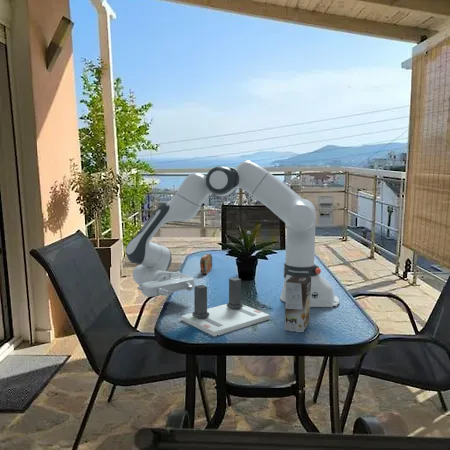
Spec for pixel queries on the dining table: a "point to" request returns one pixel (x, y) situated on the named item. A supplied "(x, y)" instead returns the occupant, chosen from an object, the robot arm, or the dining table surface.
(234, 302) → the post
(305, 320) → the coffee box
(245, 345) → the dining table surface
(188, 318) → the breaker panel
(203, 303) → the post
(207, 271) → the tin
